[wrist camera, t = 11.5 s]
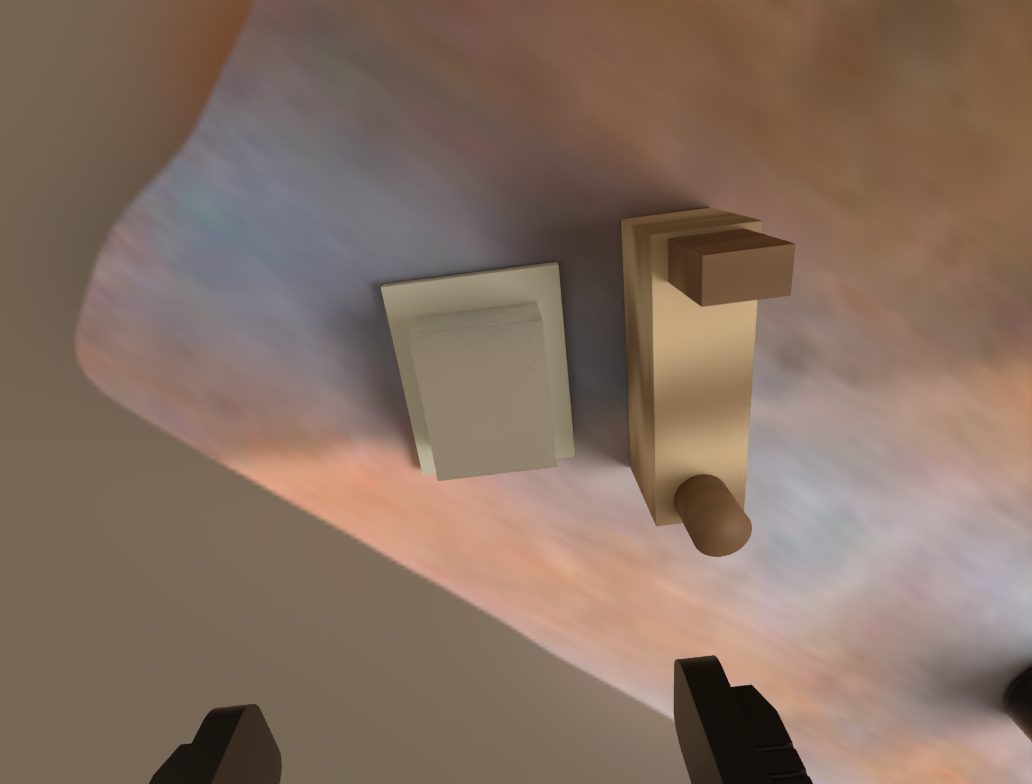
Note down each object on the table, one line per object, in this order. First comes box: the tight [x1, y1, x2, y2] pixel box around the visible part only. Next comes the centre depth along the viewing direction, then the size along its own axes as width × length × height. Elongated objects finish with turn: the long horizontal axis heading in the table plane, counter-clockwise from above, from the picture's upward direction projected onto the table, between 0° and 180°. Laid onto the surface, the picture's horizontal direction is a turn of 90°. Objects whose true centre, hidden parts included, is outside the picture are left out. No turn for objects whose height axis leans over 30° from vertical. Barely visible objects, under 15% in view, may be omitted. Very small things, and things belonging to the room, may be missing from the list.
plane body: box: [621, 208, 795, 557], centre depth 23 cm, size 13×4×8 cm, turn 7°
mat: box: [381, 262, 575, 476], centre depth 27 cm, size 10×8×1 cm
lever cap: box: [409, 302, 557, 481], centre depth 25 cm, size 7×6×3 cm
